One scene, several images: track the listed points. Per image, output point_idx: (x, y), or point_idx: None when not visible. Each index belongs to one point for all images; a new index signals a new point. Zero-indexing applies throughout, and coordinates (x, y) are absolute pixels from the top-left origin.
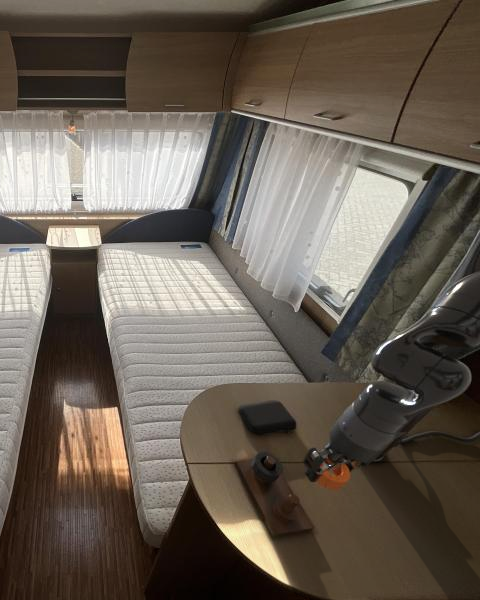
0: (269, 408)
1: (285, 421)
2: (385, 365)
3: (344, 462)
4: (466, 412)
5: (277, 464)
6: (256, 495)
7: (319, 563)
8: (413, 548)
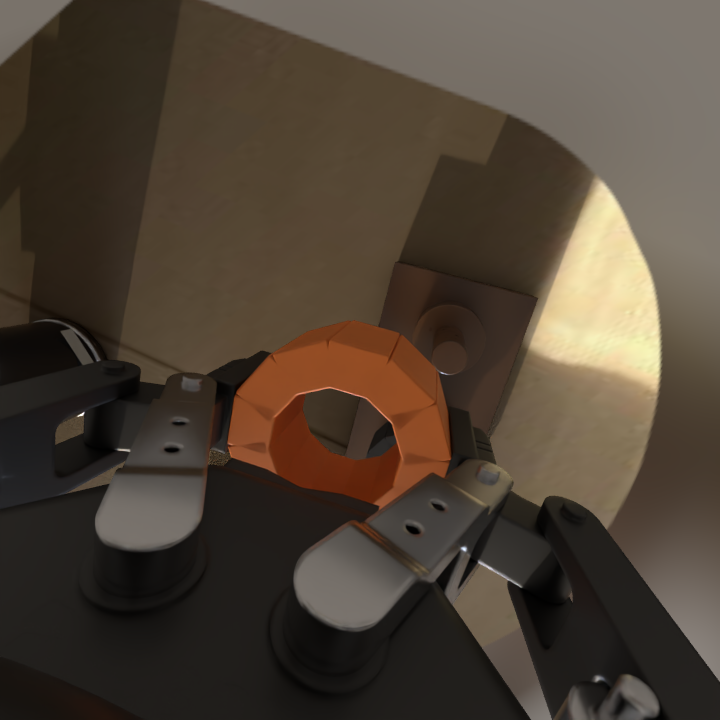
0: None
1: None
2: None
3: (388, 594)
4: None
5: None
6: (489, 404)
7: (457, 184)
8: (163, 112)
